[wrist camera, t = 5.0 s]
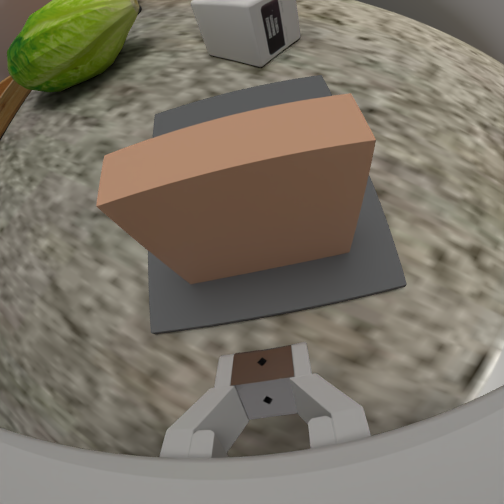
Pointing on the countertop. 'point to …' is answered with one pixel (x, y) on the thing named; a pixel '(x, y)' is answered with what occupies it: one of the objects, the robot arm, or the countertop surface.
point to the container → (247, 28)
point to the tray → (10, 101)
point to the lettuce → (69, 42)
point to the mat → (281, 278)
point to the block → (245, 188)
